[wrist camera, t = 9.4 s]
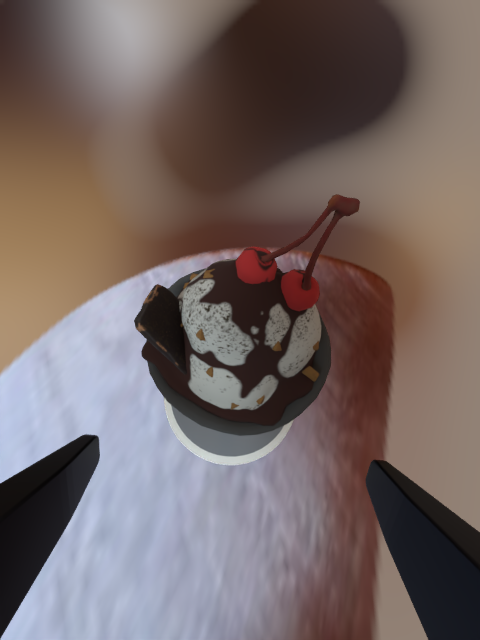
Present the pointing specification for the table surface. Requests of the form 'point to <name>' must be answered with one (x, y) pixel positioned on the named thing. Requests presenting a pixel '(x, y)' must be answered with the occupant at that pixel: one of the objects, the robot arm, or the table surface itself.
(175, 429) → the round mirror
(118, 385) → the table surface
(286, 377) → the sundae
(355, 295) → the table surface
